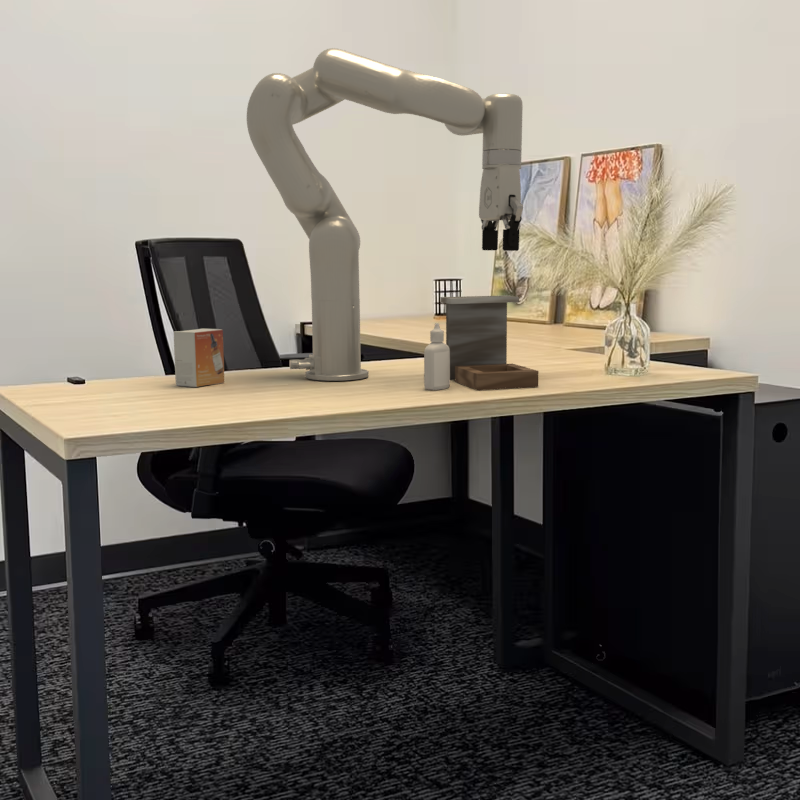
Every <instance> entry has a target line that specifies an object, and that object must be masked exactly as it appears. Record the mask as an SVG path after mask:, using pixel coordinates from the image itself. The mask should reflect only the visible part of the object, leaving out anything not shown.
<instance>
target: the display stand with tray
mask: <svg viewBox="0 0 800 800" xmlns="http://www.w3.org/2000/svg"><path fill="white" fill-rule="evenodd" d="M519 302H520V297H519V296H516V295H515V296H514V295H506V294H505V295H475V296H472V295H471V296H441V297H440V303H442V304H445V344H446V345H448V346H449V349H450V381H452V380H454V383H457V384H460V385H462V386H465V387H468V388H470V389H472V388H473V390H475V391H490V390H491V391H493V390H494V389H495V390H509V389H511V390H512V389H525V388H527V389H529V388H539V371H540V370H536V369H533V368H529V367H527V366H523V365H519V364H516V363H507V362H508V361H507V356H508V355H507V354H508V353H507V352H508V350H507V349H508V347H507V345H508V344H507V342H508V340H507V339H508V335H507V334H508V303H519Z"/></svg>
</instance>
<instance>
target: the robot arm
mask: <svg viewBox="0 0 800 800" xmlns="http://www.w3.org/2000/svg"><path fill="white" fill-rule="evenodd" d="M344 100H347V101H348V102H353V103H355V104H359V105H362V106H364V107H368V108H371V109H374V110H377V111H380V112H383V113H385V114H390V115H399V114H400V115H402V114H404V115H405V114H407V115H413V116H419V117H422V118H426V119H429V120H432V121H435V122H439V123H442V124H444V126H445V128H446V129H447V130H448V131H449V132H450V133H451V134H453V135H455V136H463V137H464V136H472V135H477V134H482V161H481V162H482V163H481V165H482V166H481V169H482V174H481V181H480V189H479V204H478V205H479V206H478V216H479V217H478V218H479V219H480V222H481V232H482V233H481V242H482V243H481V249H482V251H498V247H499V246H498V244H499V243H498V242H499V230H498V229H497V227H498V226H499V222H500V221H502V223H503V226H504V229H502V251H506V252H507V251H508V252H509V251H511V252H513V251H517V252H518V251H519V250H520V229H521V226H522V225H521V221H522V220H523V217H522V214H523V211H524V205H523V204H522V198H521V197H522V193H521V192H522V187H521V174H520V173H521V172H520V170H521V169H522V144H523V143H522V141H523V140H522V139H523V107H524V106H523V100H522V98H521V96H519V95H517V94H514V93H494V94H490V95H487V96H486V97H485V98H484V97H483V98H482V96H481V95H480V94H479V93H478V92H476V91H475V90H474V89H471V88H469V87H466V86H464V85H461V84H457V83H454V82H451V81H449V80H446V79H443V78H441V77H435V76H432V75H429V74H428V75H427V74H424V73H420V72H416V71H411V70H410V69H409V70H408V69H403V68H400V67H396V66H393V65H391V64H387V63H383V62H381V61H378V60H374V59H371V58H368V57H366V56H364V55H363V56H362V55H359V54H356V53H354V52H350V51H347V50H345V49H344V50H343V49H340V48H335V47H334V48H333V47H332V48H326V49H325V50H323V51H321V52H319V54H318V55H317V56H316V58H315V60H314V62H313V67H311V68H310V69H307V70H305V71H303V72H301V73H299V74H297V75H295V76H293V77H291V76H289V75H288V74H284V73H281V72H273V73H270V74H268V75H265V76H264V77H262V78H261V80H260V81H258V82H257V84H256V85H255V87H254V88H253V90H252V92H251V95H250V96H249V100H248V102H247V106H246V107H247V108H246V126H247V132H248V134H249V139H250V141H251V144H252V147H254V151H255V152H256V154H257V156H258V158H259V159H260V161H261V163H262V165H263V166H264V168H265V170H266V172H267V174H268V176H269V177H270V179H271V180H272V183H273V184H274V186H275V188H276V189H277V191H278V192H279V194H280V197H281V199H282V200H283V203H284V205H285V206H286V209H287V210H289V212H290V213H292V214H293V215H294V216H295V218H296V220H297V221H298V223H299V225H300V226H301V228H302V230H303V232H304V233H305V235H306V236H307V238H308V239H309V241H308V258H309V272H310V293H311V295H310V297H311V323H312V324H311V326H312V328H311V329H312V330H311V332H312V335H311V336H312V354H311V353H310V354H308V355H309V357H305V358H304V359H298V358H297V359H289V369H290V370H306V371H305V378H306V379H308V380H312V381H327V382H328V381H329V382H330V381H331V382H337V381H338V382H339V381H341V382H342V381H344V382H345V381H355V380H357V381H358V380H362V379H366V378H368V377H369V370H367V369H364V368H362V365H361V364H362V361H361V359H362V358H361V354H362V353H361V308H360V307H361V306H360V304H361V301H360V300H361V298H360V265H359V263H360V262H359V260H360V257H359V255H360V254H359V252H360V248H361V247H360V246H361V237H360V233H359V230H358V229H357V227H356V225H355V224H354V223H353V220H352V219H351V217H350V215H349V213H348V211H347V210H346V209H345V207H344V205H343V204H342V202H341V201H340V199H339V197H338V195H337V194H336V192H335V190H334V188H333V187H332V186H331V183H330V182H329V180H328V179H327V178H326V177H325V176H324V175H323V174H322V173H321V172H319V170H318V168H317V167H316V165H315V164H314V163H313V161H312V159H311V158H310V156H309V154H308V152H307V151H306V149H305V148H304V147H305V146H304V145H303V143H302V142H301V139H300V138H299V136H298V134H297V133H296V131H295V130H294V125H296V124H298V123H302V122H303V121H306V120H307V119H309V118H311V117H313V116H315V115H317V114H319V113H322V112H324V111H326V110H327V109H328V110H329V109H330V108H332V107H333V106H336V105H337V104H339V103H341V102H343V101H344Z"/></svg>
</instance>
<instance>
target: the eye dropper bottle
mask: <svg viewBox="0 0 800 800" xmlns="http://www.w3.org/2000/svg"><path fill="white" fill-rule="evenodd" d="M429 333H430V339H429V340H430V343H429V344H428V345H426V347H425V348H424V351H423V352H424V353H423V354H424V355H423V356H424V357H423V360H424V361H423V362H424V365H423V367H424V368H423V370H424V371H423V379H424V381H423V384H424V386H423V388H424V390H427V389H428V391H440V390H445V389H448V388H449V387H450V385H451V380H450V349H449V346H448V345H446V343H444V341H445V340H444V339H445V338H444V335H445V334H444V333H445V332H444V330H442V329H441V328H440V323H439V322H436V323H434V327H433V329H431V330H430V332H429Z"/></svg>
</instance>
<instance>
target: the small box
mask: <svg viewBox="0 0 800 800" xmlns="http://www.w3.org/2000/svg"><path fill="white" fill-rule="evenodd" d="M173 349H174V350H173V351H174V371H175V372H174V375H175V386H177V387H178V386H179V387H191V388H198V387H204V386H210V385H212V386H213V385H218V384H219V385H220V384H224V383H225V359H224V357H225V356H224V355H225V354H224V330H223V329H219V328H202V327H201V328H197V329H188V330H180V331H179V330H178V331H177V330H176V331H173Z"/></svg>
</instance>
